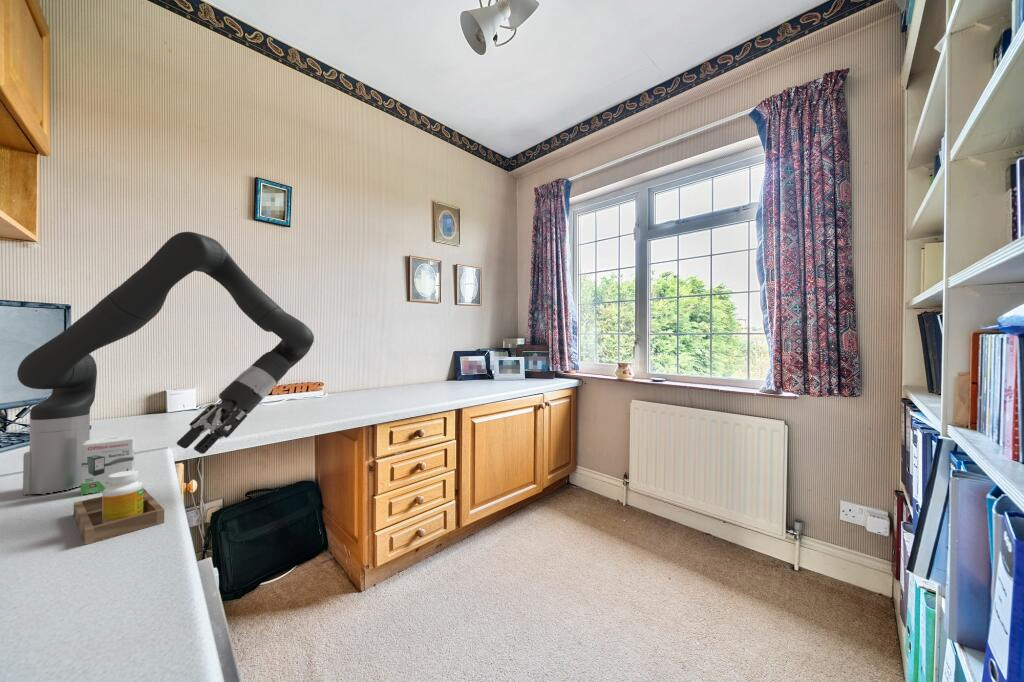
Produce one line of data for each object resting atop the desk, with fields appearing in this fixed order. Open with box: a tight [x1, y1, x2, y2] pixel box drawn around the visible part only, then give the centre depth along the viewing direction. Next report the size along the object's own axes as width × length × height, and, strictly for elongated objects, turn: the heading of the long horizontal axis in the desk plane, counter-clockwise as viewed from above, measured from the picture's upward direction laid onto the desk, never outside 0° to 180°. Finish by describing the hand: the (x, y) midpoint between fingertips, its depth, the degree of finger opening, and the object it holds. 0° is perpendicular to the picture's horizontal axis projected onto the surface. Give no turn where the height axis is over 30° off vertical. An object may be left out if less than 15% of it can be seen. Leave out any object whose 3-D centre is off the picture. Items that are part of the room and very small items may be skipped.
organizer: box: [73, 487, 165, 546], centre depth 73 cm, size 20×10×2 cm, turn 53°
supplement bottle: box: [102, 469, 144, 524], centre depth 71 cm, size 5×5×10 cm
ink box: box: [79, 435, 136, 496], centre depth 89 cm, size 9×5×12 cm, turn 133°
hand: (189, 449), depth 79 cm, fingers open, 8 cm apart
